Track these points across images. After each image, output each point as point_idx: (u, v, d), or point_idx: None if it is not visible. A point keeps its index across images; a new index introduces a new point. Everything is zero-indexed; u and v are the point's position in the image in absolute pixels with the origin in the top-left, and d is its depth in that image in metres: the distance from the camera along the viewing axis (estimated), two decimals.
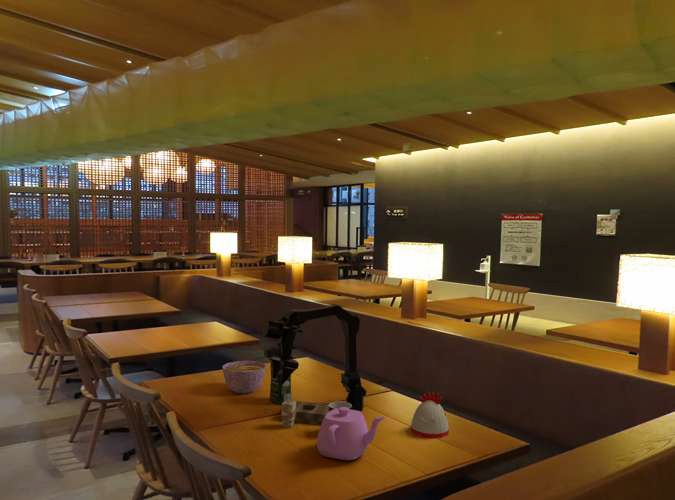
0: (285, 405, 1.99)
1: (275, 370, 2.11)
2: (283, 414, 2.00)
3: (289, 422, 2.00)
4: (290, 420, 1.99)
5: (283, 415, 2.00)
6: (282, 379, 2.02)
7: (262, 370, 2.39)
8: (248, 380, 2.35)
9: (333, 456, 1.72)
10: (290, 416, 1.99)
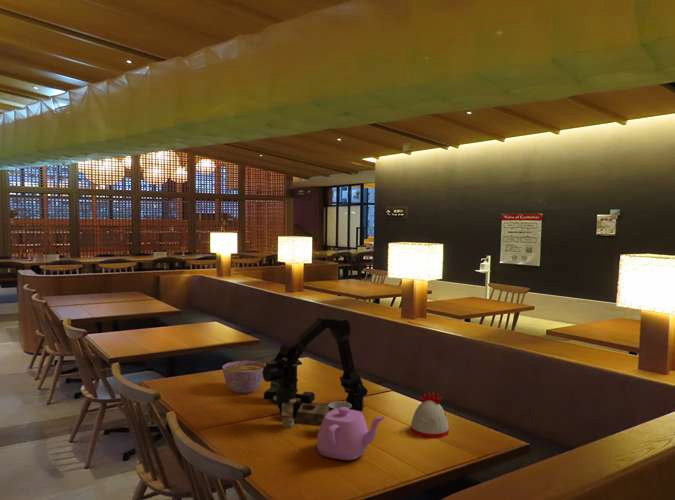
0: (285, 405, 1.99)
1: None
2: (283, 414, 2.00)
3: (289, 422, 2.00)
4: (290, 420, 1.99)
5: (283, 415, 2.00)
6: (296, 414, 2.00)
7: (262, 370, 2.39)
8: (248, 380, 2.35)
9: (333, 456, 1.72)
10: (290, 416, 1.99)
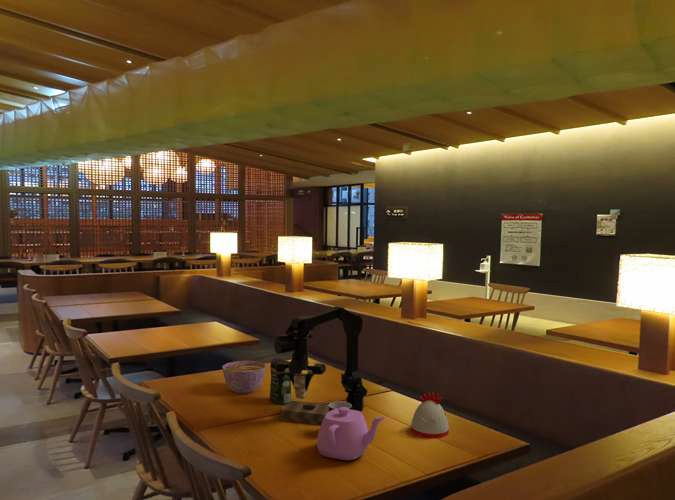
0: (297, 377, 2.05)
1: None
2: (295, 385, 2.05)
3: (301, 393, 2.05)
4: (302, 391, 2.05)
5: (295, 386, 2.05)
6: (308, 385, 2.06)
7: (262, 370, 2.39)
8: (248, 380, 2.35)
9: (333, 456, 1.72)
10: (303, 387, 2.04)
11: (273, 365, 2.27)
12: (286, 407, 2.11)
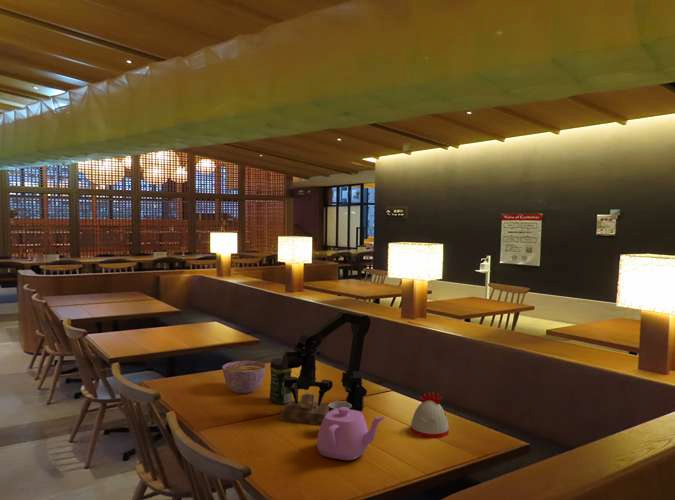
0: (304, 397, 2.09)
1: (296, 396, 2.12)
2: (302, 406, 2.09)
3: None
4: None
5: (302, 407, 2.09)
6: (320, 401, 2.09)
7: (262, 370, 2.39)
8: (248, 380, 2.35)
9: (333, 456, 1.72)
10: (309, 408, 2.09)
11: (273, 365, 2.27)
12: (286, 407, 2.11)
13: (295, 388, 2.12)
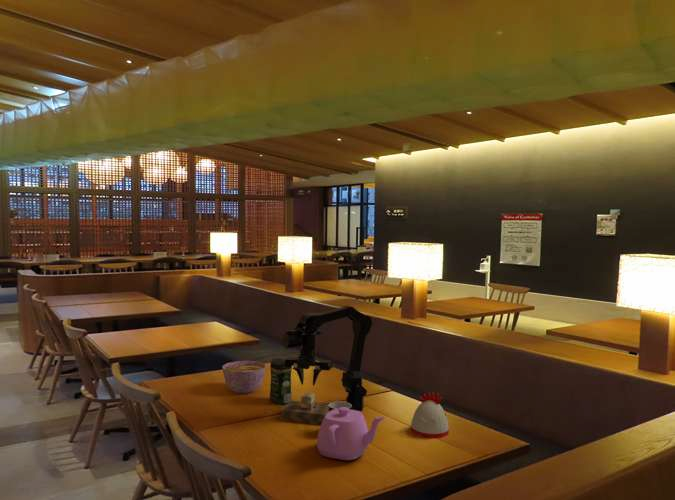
0: (304, 397, 2.09)
1: (302, 377, 2.11)
2: (302, 406, 2.09)
3: None
4: None
5: (302, 407, 2.09)
6: (315, 381, 2.10)
7: (262, 370, 2.39)
8: (248, 380, 2.35)
9: (333, 456, 1.72)
10: (309, 408, 2.09)
11: (273, 365, 2.27)
12: (286, 407, 2.11)
13: (301, 369, 2.11)
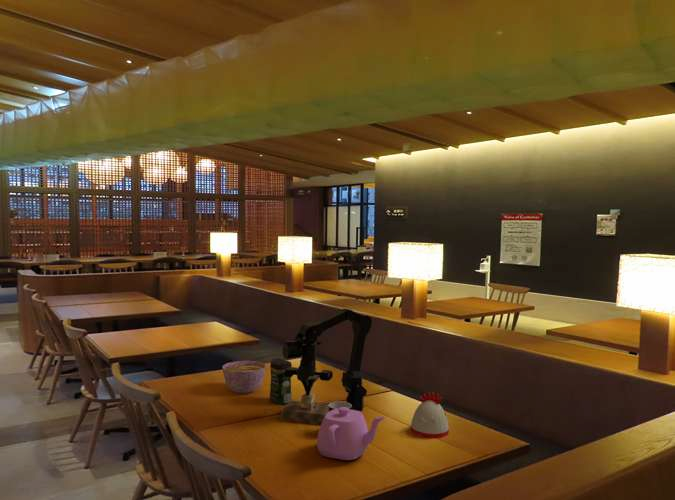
0: (304, 397, 2.09)
1: (307, 387, 2.11)
2: (302, 406, 2.09)
3: None
4: None
5: (302, 407, 2.09)
6: (309, 391, 2.10)
7: (262, 370, 2.39)
8: (248, 380, 2.35)
9: (333, 456, 1.72)
10: (309, 408, 2.09)
11: (273, 365, 2.27)
12: (286, 407, 2.11)
13: (306, 379, 2.10)
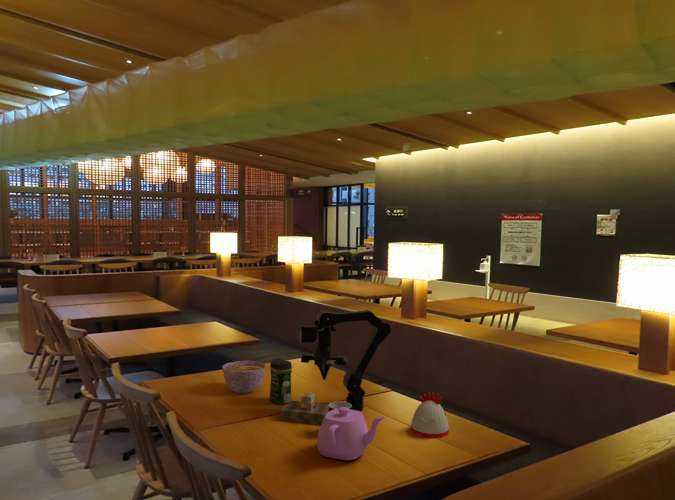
0: (304, 397, 2.09)
1: (323, 372, 2.19)
2: (302, 406, 2.09)
3: None
4: None
5: (302, 407, 2.09)
6: (326, 375, 2.18)
7: (262, 370, 2.39)
8: (248, 380, 2.35)
9: (333, 456, 1.72)
10: (309, 408, 2.09)
11: (273, 365, 2.27)
12: (286, 407, 2.11)
13: (322, 364, 2.19)
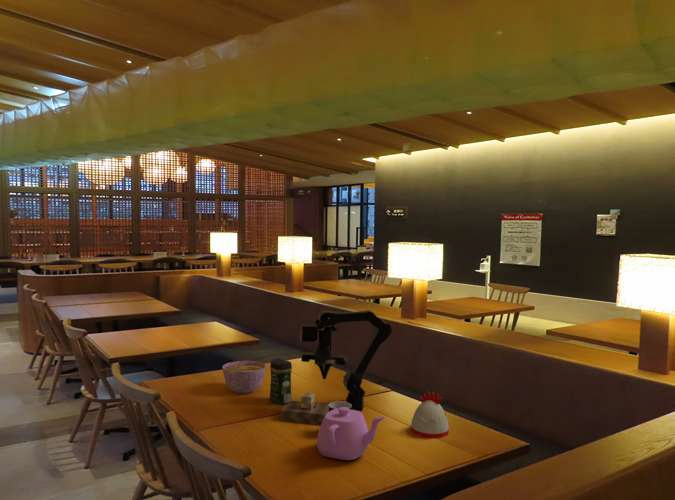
0: (304, 397, 2.09)
1: (324, 372, 2.19)
2: (302, 406, 2.09)
3: None
4: None
5: (302, 407, 2.09)
6: (326, 375, 2.19)
7: (262, 370, 2.39)
8: (248, 380, 2.35)
9: (333, 456, 1.72)
10: (309, 408, 2.09)
11: (273, 365, 2.27)
12: (286, 407, 2.11)
13: (322, 364, 2.19)
